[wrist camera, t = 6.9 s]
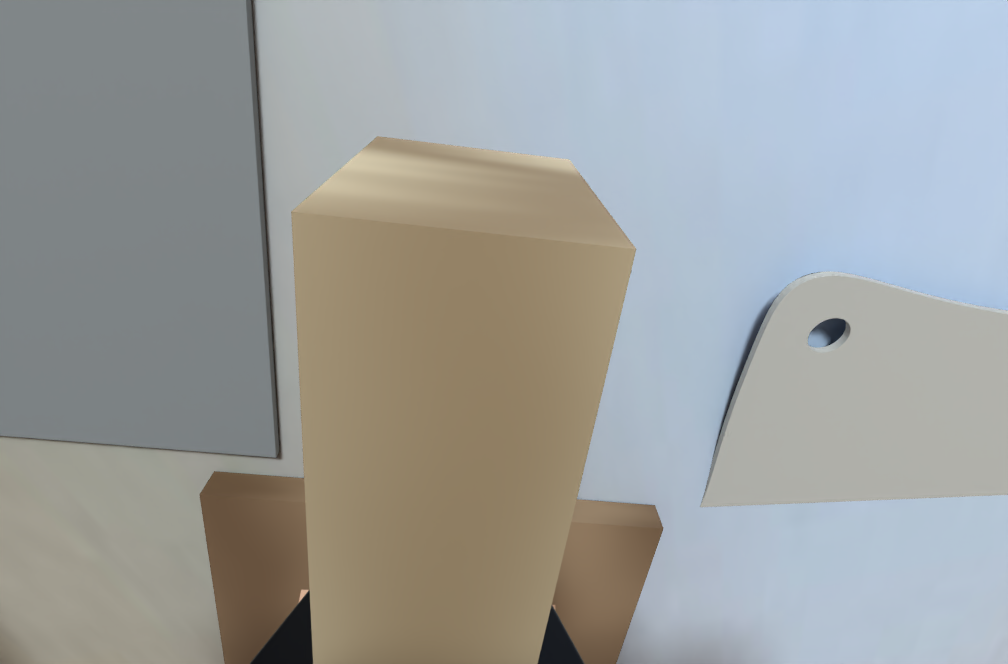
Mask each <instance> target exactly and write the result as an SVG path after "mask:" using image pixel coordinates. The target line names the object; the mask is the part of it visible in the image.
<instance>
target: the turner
mask: <svg viewBox="0 0 1008 664" xmlns="http://www.w3.org/2000/svg"><path fill="white" fill-rule="evenodd" d="M291 214H292V235H293V255H294V276H295V297H296V318H297V339H298V359H299V380H300V401H301V422H302V442H303V463H304V484H305V505H306V526H307V546H308V567H309V588H310V609H311V630H312V650H313V664H538V660H539V655H540V651H541V647H542V643H543V639H544V634H545V630H546V626H547V622H548V618H549V613H550V609H551V605H552V601H553V597H554V592H555V588H556V584H557V580H558V576H559V571H560V567H561V563H562V559H563V555H564V550H565V546H566V542H567V538H568V534H569V529H570V525H571V521H572V517H573V513H574V508H575V504H576V500H577V496H578V492H579V487H580V483H581V479H582V475H583V471H584V466H585V462H586V458H587V454H588V450H589V445H590V441H591V437H592V433H593V429H594V424H595V420H596V416H597V412H598V407H599V403H600V399H601V395H602V391H603V386H604V382H605V378H606V374H607V370H608V365H609V361H610V357H611V353H612V349H613V344H614V340H615V336H616V332H617V328H618V323H619V319H620V315H621V311H622V307H623V302H624V298H625V294H626V290H627V286H628V281H629V277H630V273H631V269H632V265H633V260H634V256H635V252H636V248H635V247H634V246H633V244H632V243H631V242H630V240H629V239H628V238H627V236H626V235H625V234H624V232H623V231H622V229H621V228H620V227H619V225H618V224H617V223H616V221H615V220H614V219H613V217H612V216H611V215H610V213H609V212H608V211H607V209H606V208H605V207H604V205H603V204H602V203H601V201H600V200H599V199H598V197H597V196H596V195H595V193H594V192H593V191H592V189H591V188H590V187H589V185H588V184H587V183H586V181H585V180H584V179H583V177H582V176H581V175H580V173H579V172H578V171H577V169H576V168H575V167H574V165H573V164H572V163H571V161H570V160H568V159H560V158H552V157H543V156H535V155H527V154H519V153H511V152H502V151H494V150H486V149H478V148H469V147H461V146H453V145H445V144H436V143H428V142H420V141H412V140H403V139H395V138H387V137H379V136H377V137H376V138H375V139H374V140H373V141H372V142H371V143H369V144H368V145H367V146H366V147H365V148H364V149H363V150H361V151H360V152H359V153H358V154H357V155H356V156H355V157H353V158H352V159H351V160H350V161H349V162H348V163H346V164H345V165H344V166H343V167H342V168H341V169H340V170H338V171H337V172H336V173H335V174H334V175H333V176H332V177H330V178H329V179H328V180H327V181H326V182H325V183H324V184H322V185H321V186H320V187H319V188H318V189H317V190H316V191H314V192H313V193H312V194H311V195H310V196H309V197H308V198H306V199H305V200H304V201H303V202H302V203H301V204H300V205H298V206H297V207H296V208H295V209H294V210H293V211H292V212H291Z"/></svg>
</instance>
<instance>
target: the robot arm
mask: <svg viewBox="0 0 1008 664" xmlns="http://www.w3.org/2000/svg"><path fill="white" fill-rule="evenodd" d="M250 664H313V650H312V630H311V609H310V590H309V591H308V592H307V593H306V594H305V596H304V597H303V598H302V599H301V601H300V602H299V603H298V604H297V606H296V607H295V608H294V609H293V610H292V612H291V613H290V614H289V615H288V617H287V618H286V619H285V620H284V622H283V623H282V624H281V625H280V627H279V628H278V629H277V630H276V631H275V633H274V634H273V635H272V636H271V638H270V639H269V640H268V641H267V643H266V644H265V645H264V646H263V647H262V649H261V650H260V651H259V652H258V654H257V655H256V656H255V657H254V659H253V660H252V661H251V662H250ZM538 664H585V663H584V661H583V660H582V658H581V656H580V654H579V652H578V651H577V649H576V647H575V645H574V643H573V642H572V640H571V638H570V636H569V634H568V633H567V631H566V629H565V627H564V625H563V623H562V622H561V620H560V618H559V616H558V614H557V613H556V611H555V609H554V607H553V605H551V609H550V613H549V618H548V622H547V626H546V630H545V634H544V639H543V643H542V647H541V651H540V655H539V660H538Z"/></svg>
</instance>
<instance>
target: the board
mask: <svg viewBox="0 0 1008 664" xmlns="http://www.w3.org/2000/svg"><path fill="white" fill-rule="evenodd" d="M200 501H201V507H202V514H203V521H204V527H205V534H206V541H207V548H208V554H209V561H210V568H211V574H212V581H213V588H214V595H215V601H216V608H217V615H218V621H219V628H220V635H221V642H222V648H223V655H224V662H225V664H250V662H251V661H252V660H253V659H254V657H255V656H256V655H257V654H258V652H259V651H260V650H261V649H262V647H263V646H264V645H265V644H266V643H267V641H268V640H269V639H270V638H271V636H272V635H273V634H274V633H275V631H276V630H277V629H278V628H279V627H280V625H281V624H282V623H283V622H284V620H285V619H286V618H287V617H288V615H289V614H290V613H291V612H292V610H293V609H294V608H295V607H296V606H297V604H298V602H299V598H300V593H301V590H310V588H309V567H308V546H307V526H306V505H305V484H304V478H293V477H280V476H267V475H254V474H241V473H228V472H215V471H214V473H213V474H212V476H211V477H210V479H209V480H208V482H207V484H206V485H205V487H204V488H203V490H202V492H201V493H200ZM662 531H663V526H662V524H661V521H660V518H659V515H658V513H657V510H656V507H655V505H642V504H630V503H617V502H604V501H591V500H578V499H577V500H576V504H575V508H574V513H573V517H572V521H571V525H570V529H569V534H568V538H567V542H566V546H565V550H564V555H563V559H562V563H561V567H560V571H559V576H558V580H557V584H556V588H555V592H554V597H553V601H552V605H555V608H556V613H557V614H558V616H559V618H560V620H561V622H562V623H563V625H564V627H565V629H566V631H567V633H568V634H569V636H570V638H571V640H572V642H573V643H574V645H575V647H576V649H577V651H578V652H579V654H580V656H581V658H582V660H583V661H584V663H585V664H616V662H617V659H618V656H619V654H620V651H621V648H622V645H623V642H624V639H625V637H626V634H627V631H628V628H629V625H630V622H631V619H632V617H633V614H634V611H635V608H636V605H637V602H638V600H639V597H640V594H641V591H642V588H643V585H644V582H645V580H646V577H647V574H648V571H649V568H650V565H651V563H652V560H653V557H654V554H655V551H656V548H657V545H658V543H659V540H660V537H661V534H662Z"/></svg>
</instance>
